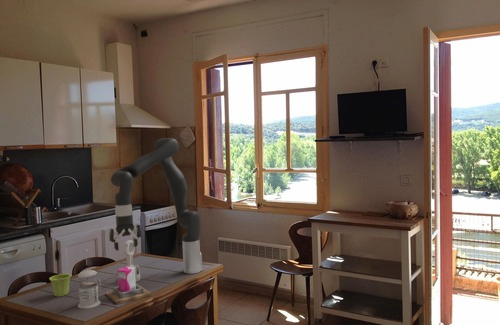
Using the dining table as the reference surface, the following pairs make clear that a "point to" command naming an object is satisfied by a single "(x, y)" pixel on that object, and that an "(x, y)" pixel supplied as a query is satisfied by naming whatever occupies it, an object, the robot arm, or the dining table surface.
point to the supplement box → (126, 279)
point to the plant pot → (60, 284)
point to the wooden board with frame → (127, 294)
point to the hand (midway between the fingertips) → (126, 248)
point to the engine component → (131, 258)
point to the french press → (85, 298)
